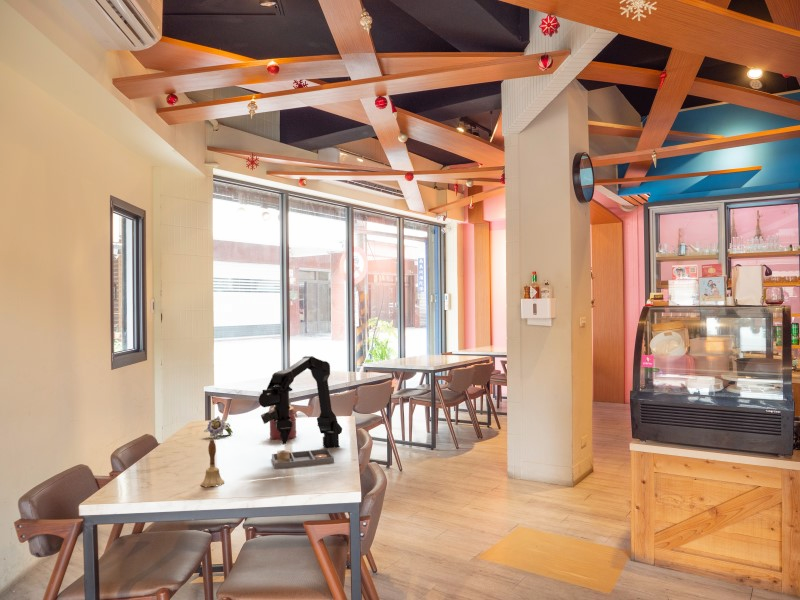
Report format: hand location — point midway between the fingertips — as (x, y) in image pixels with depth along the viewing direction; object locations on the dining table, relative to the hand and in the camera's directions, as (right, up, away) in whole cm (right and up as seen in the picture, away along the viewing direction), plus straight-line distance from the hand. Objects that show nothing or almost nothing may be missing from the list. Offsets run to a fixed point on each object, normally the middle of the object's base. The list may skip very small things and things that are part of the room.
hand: (283, 441), depth 236 cm
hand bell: (-21, -9, -25) cm, 34 cm away
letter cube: (0, -8, 0) cm, 8 cm away
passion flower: (-45, -12, +59) cm, 75 cm away
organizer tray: (+8, -9, +2) cm, 12 cm away
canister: (-10, -11, +51) cm, 53 cm away
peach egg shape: (+15, -8, +4) cm, 17 cm away
